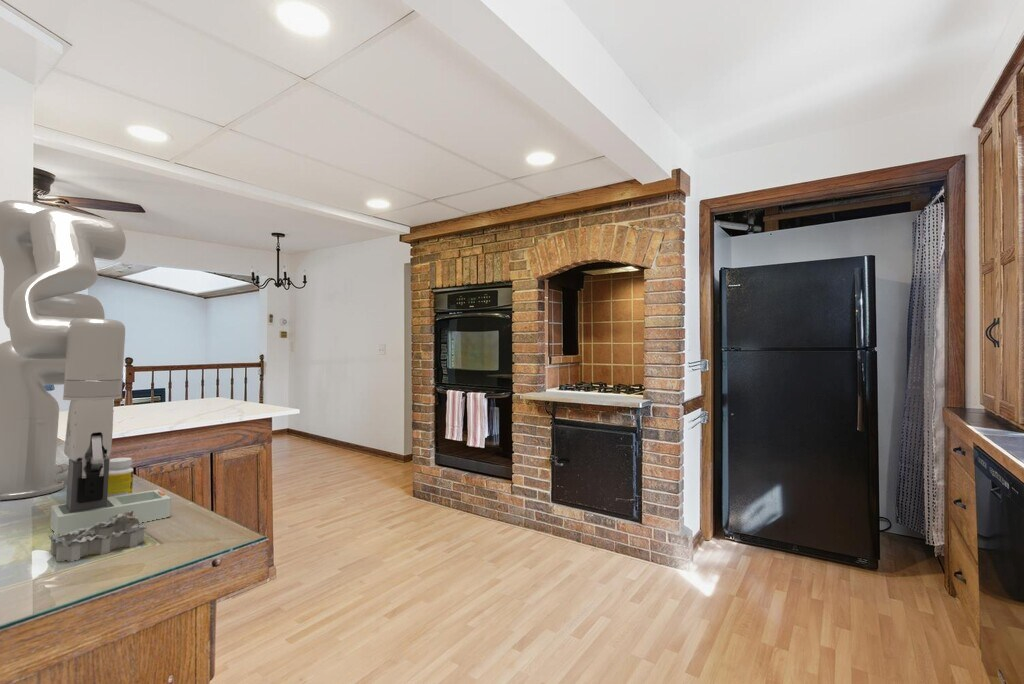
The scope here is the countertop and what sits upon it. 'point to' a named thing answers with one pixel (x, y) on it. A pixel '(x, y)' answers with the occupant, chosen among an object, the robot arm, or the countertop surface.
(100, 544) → the egg carton
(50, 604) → the countertop surface
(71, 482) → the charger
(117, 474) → the supplement bottle
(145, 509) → the power strip
